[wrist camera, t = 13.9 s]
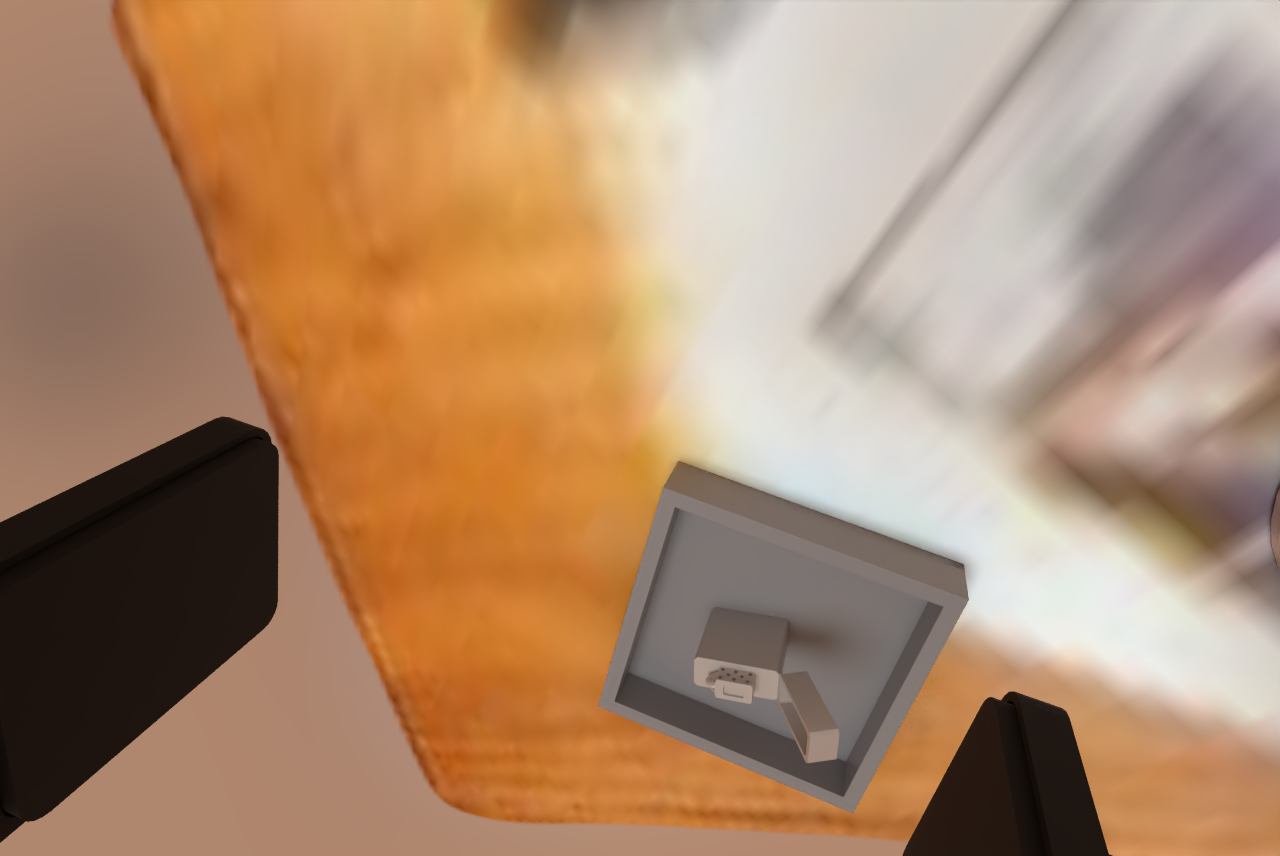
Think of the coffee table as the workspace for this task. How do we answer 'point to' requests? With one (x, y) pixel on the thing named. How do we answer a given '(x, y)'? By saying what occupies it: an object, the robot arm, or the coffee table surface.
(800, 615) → the tray
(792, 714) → the lighter
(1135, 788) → the coffee table surface
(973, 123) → the coffee table surface
